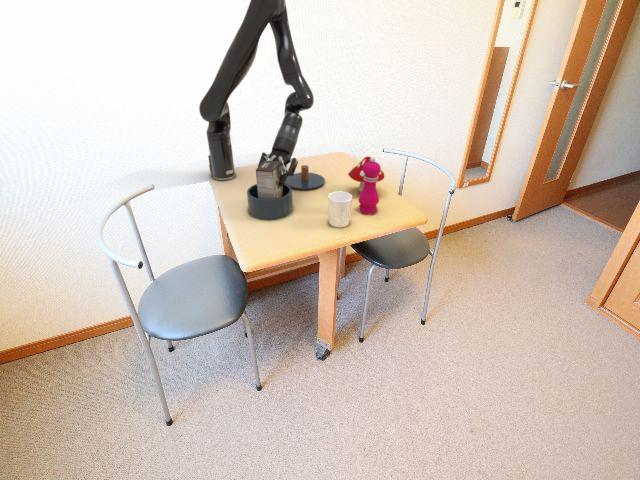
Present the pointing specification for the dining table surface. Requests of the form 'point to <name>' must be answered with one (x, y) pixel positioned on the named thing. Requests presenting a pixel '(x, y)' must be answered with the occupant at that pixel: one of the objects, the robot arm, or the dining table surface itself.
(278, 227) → the dining table surface
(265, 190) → the coffee box
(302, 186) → the pot lid
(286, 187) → the pot
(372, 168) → the pepper mill
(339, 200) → the white cup
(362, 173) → the decorative mushroom
